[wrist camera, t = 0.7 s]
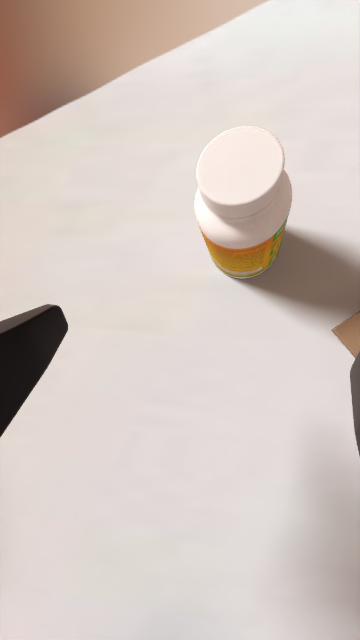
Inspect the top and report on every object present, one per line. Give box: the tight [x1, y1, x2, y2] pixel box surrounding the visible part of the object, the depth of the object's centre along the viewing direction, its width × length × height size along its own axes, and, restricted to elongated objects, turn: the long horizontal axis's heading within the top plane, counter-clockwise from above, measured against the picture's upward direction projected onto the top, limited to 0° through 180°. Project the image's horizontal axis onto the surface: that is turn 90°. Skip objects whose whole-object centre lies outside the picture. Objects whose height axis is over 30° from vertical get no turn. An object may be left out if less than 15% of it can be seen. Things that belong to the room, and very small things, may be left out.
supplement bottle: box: [195, 126, 292, 278], centre depth 16 cm, size 5×5×10 cm
